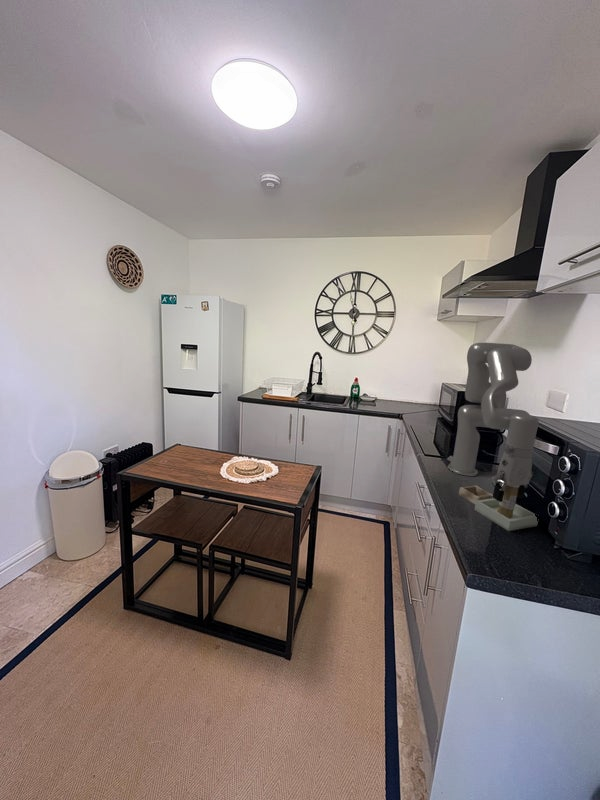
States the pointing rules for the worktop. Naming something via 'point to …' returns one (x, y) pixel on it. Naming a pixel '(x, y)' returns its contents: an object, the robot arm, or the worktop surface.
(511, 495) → the sprinkles bottle
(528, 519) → the tray
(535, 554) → the worktop surface
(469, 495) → the collar
